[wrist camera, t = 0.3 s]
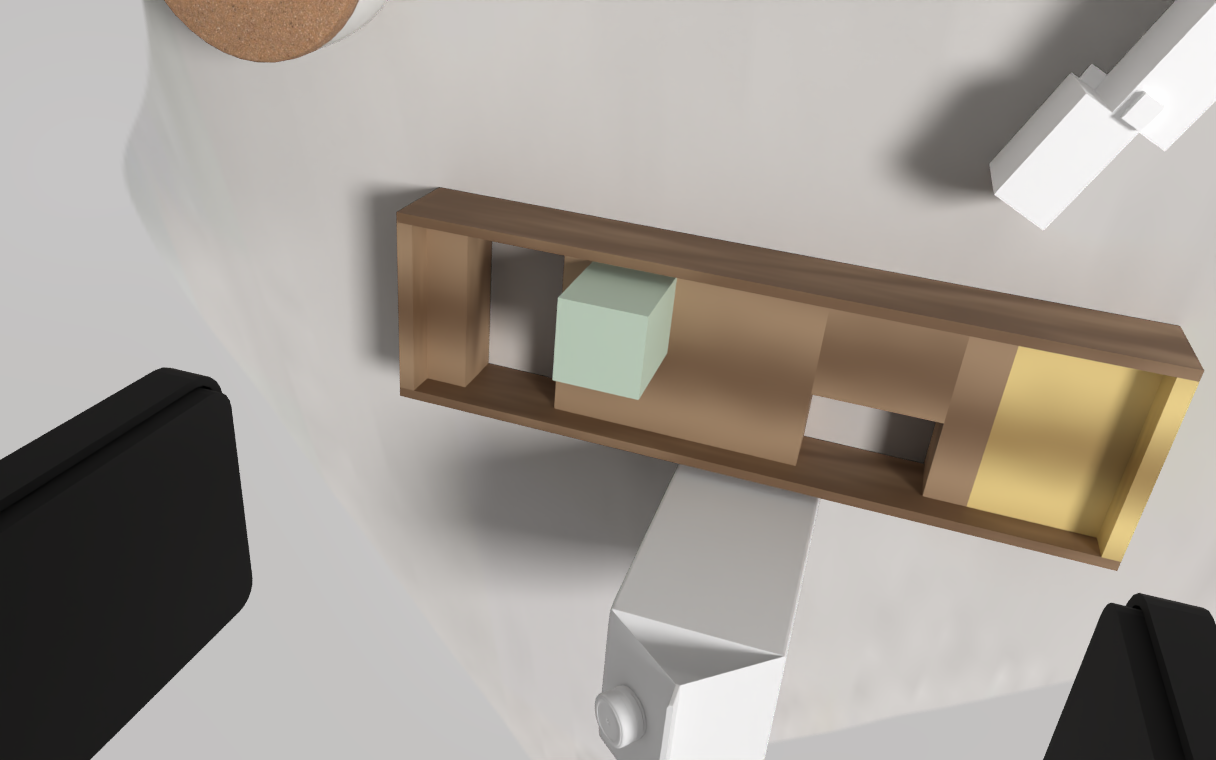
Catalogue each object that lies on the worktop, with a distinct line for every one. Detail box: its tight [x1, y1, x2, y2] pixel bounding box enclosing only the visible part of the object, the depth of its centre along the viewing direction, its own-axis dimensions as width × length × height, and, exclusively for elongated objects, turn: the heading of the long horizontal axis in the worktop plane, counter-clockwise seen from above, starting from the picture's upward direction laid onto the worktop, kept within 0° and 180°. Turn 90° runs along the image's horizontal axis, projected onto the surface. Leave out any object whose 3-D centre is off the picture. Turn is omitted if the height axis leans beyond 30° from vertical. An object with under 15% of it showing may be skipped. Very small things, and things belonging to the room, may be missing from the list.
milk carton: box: [595, 464, 820, 760], centre depth 43 cm, size 7×7×19 cm
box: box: [396, 187, 1204, 571], centre depth 45 cm, size 10×35×4 cm, turn 85°
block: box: [552, 261, 677, 400], centre depth 43 cm, size 4×4×5 cm
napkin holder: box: [989, 0, 1216, 231], centre depth 36 cm, size 15×11×6 cm
